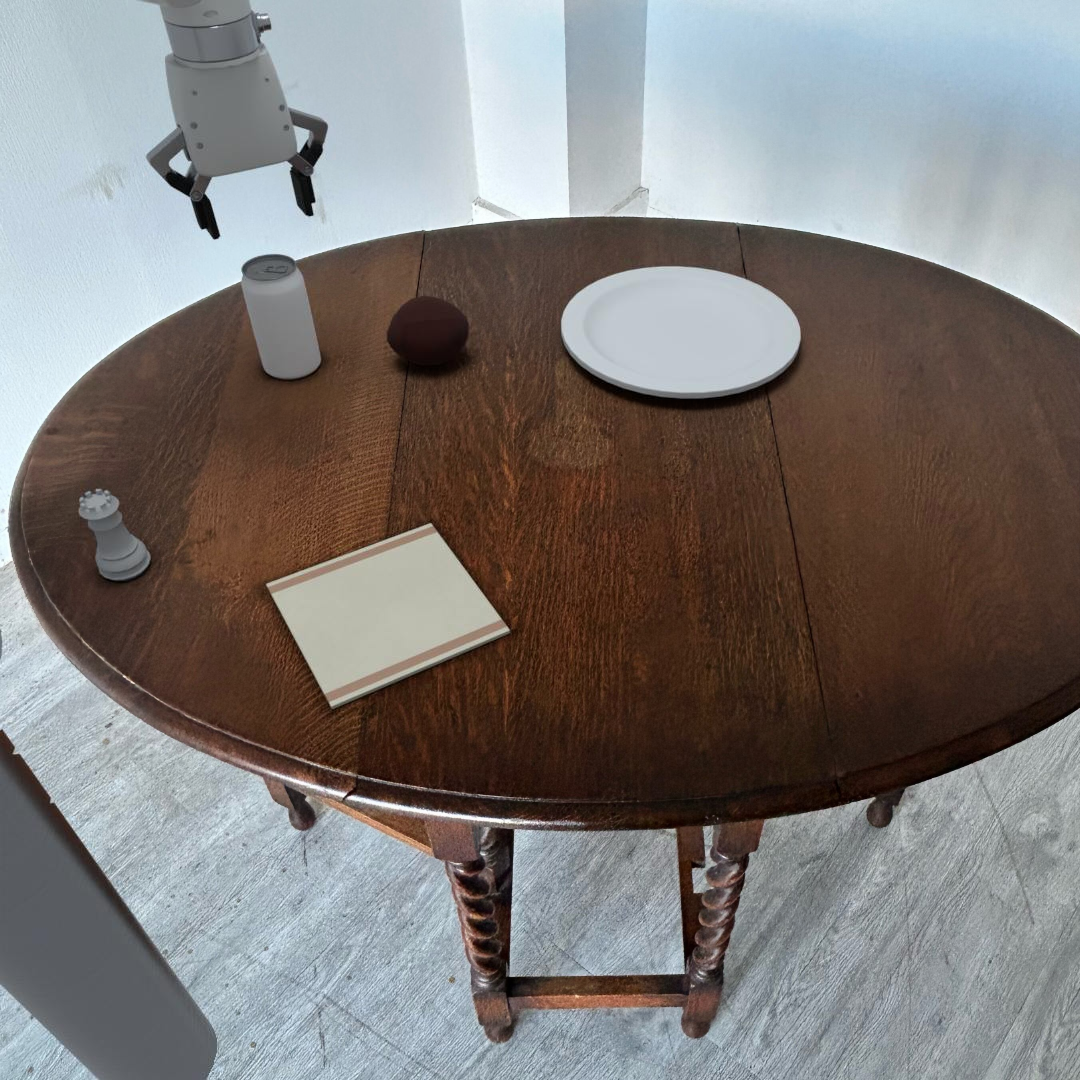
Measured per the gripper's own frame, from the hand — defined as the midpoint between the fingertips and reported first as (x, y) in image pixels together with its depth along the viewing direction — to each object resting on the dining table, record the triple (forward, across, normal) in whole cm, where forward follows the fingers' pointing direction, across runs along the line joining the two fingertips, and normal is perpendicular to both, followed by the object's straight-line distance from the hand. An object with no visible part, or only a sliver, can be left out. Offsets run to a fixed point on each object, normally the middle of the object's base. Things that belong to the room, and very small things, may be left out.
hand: (260, 222), depth 100 cm
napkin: (+16, +6, +41) cm, 45 cm away
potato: (+17, -14, +7) cm, 23 cm away
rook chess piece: (+16, +24, +24) cm, 38 cm away
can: (+17, 0, 0) cm, 17 cm away
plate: (+17, -41, +18) cm, 48 cm away
